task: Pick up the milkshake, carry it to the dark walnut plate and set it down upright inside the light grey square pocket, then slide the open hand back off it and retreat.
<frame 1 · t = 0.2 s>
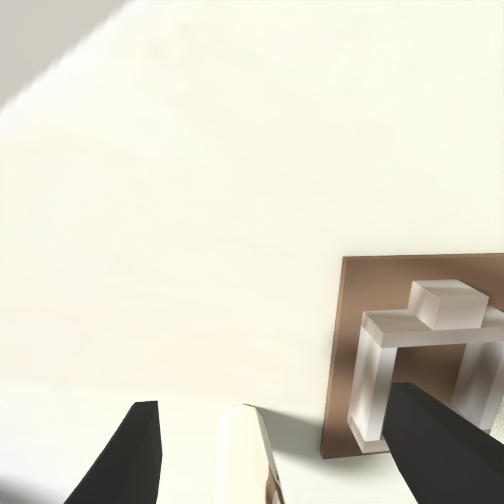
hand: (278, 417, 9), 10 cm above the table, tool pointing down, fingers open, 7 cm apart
pocket plate: (410, 360, 22), on the table
milkshake: (243, 415, 22), on the table
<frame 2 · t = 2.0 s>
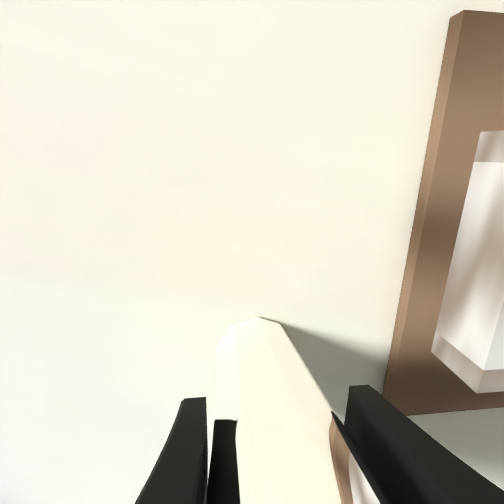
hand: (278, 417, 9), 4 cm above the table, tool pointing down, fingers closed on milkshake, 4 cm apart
milkshake: (259, 340, 13), on the table, touching gripper
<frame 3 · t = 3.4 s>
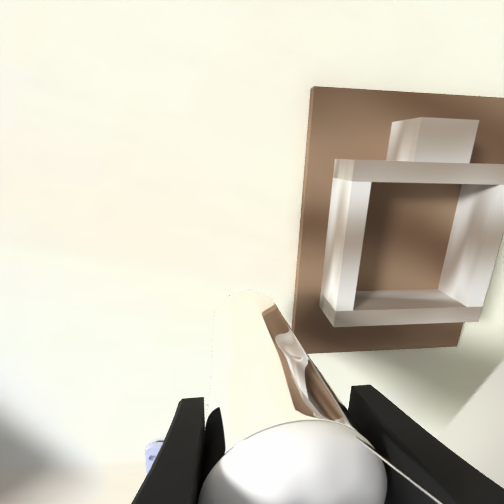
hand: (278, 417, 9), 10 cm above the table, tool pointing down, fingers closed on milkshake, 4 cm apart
pocket plate: (391, 235, 20), on the table
milkshake: (251, 311, 15), point 4 cm above the table, touching gripper
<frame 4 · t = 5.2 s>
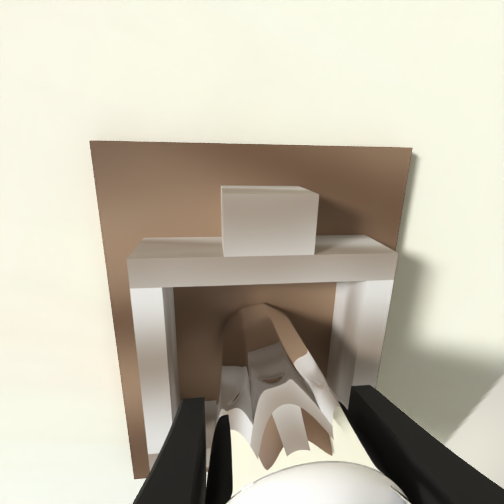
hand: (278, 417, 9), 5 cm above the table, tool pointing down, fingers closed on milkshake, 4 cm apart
pocket plate: (254, 326, 14), on the table
milkshake: (263, 326, 14), resting on pocket plate, touching gripper
when the fingers open (5 cm above the table, at t = 5.7 s): milkshake stays where it is, resting on pocket plate.
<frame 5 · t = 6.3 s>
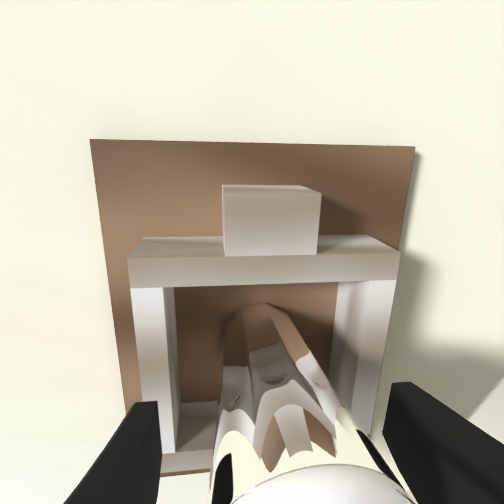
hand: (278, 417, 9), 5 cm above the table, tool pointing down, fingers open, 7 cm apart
pocket plate: (255, 326, 14), on the table
milkshake: (264, 326, 14), resting on pocket plate
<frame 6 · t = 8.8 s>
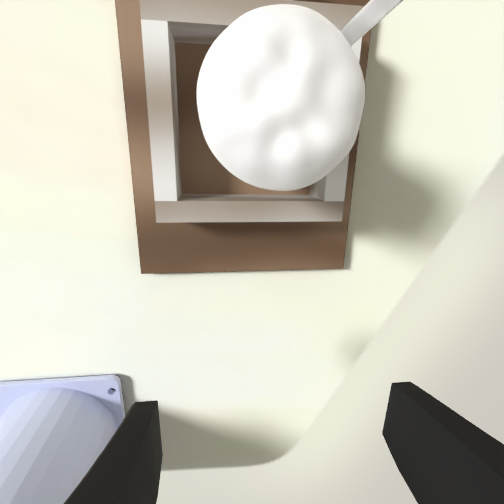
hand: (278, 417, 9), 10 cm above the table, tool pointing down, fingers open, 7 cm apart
pocket plate: (247, 126, 17), on the table
milkshake: (254, 121, 16), resting on pocket plate
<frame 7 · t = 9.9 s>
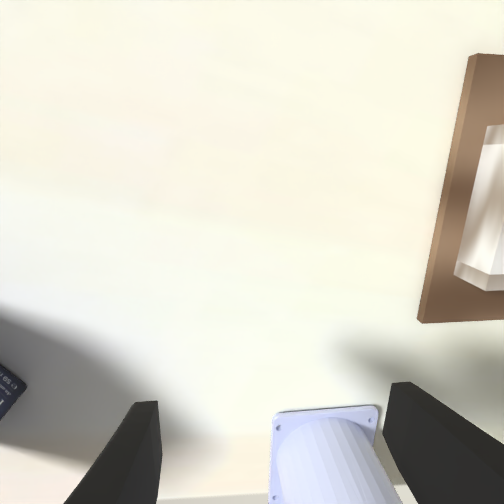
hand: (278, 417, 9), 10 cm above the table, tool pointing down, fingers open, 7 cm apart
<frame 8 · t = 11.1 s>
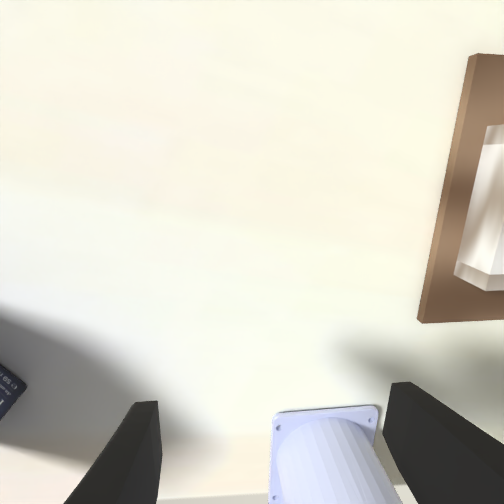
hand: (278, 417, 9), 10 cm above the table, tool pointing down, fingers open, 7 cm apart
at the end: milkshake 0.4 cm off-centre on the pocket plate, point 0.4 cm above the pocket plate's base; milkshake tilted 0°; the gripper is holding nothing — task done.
